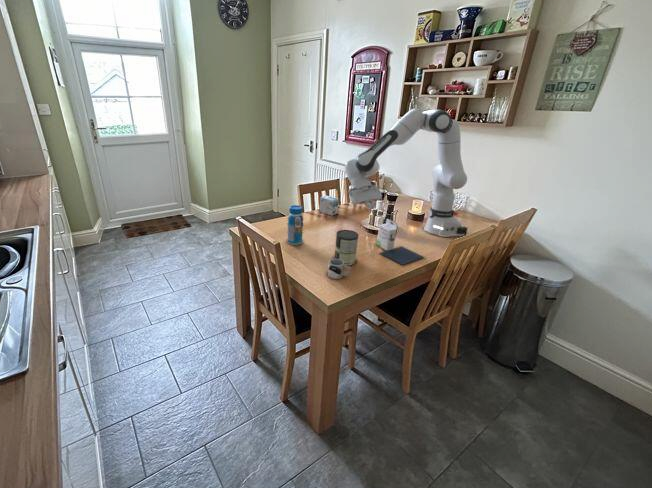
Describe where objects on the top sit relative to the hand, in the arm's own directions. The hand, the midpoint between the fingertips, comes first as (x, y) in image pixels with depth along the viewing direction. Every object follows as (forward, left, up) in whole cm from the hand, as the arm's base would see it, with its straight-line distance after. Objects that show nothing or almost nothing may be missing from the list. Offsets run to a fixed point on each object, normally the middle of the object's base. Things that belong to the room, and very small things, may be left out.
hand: (371, 208), depth 177 cm
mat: (-13, +20, -18) cm, 30 cm away
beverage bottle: (+41, +6, -18) cm, 46 cm away
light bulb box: (+17, -42, -18) cm, 48 cm away
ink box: (-7, +10, -18) cm, 22 cm away
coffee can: (+17, +26, -18) cm, 36 cm away
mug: (+22, +41, -18) cm, 50 cm away
